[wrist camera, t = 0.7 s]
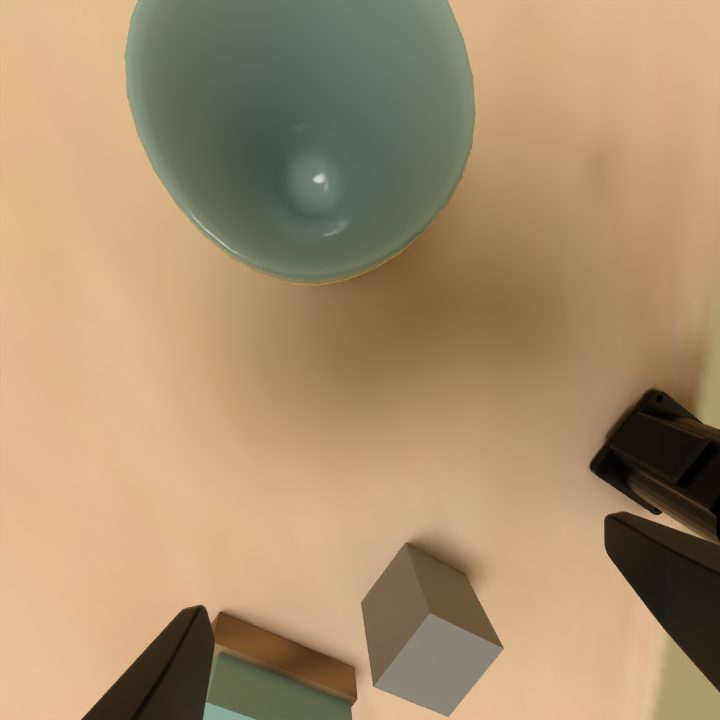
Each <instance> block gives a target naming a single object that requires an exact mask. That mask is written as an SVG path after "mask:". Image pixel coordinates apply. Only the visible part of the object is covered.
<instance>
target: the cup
mask: <svg viewBox="0 0 720 720" xmlns="http://www.w3.org/2000/svg"><path fill="white" fill-rule="evenodd" d="M124 57H125V72H126V87H127V98H128V101H129V105H130V109H131V112H132V116H133V120H134V123H135V127H136V131H137V134H138V137H139V139H140V141H141V143H142V145H143V148H144V150H145V152H146V154H147V156H148V158H149V161H150V163H151V165H152V167H153V169H154V171H155V173H156V175H157V176H158V178H159V179H160V181H161V182H162V184H163V185H164V187H165V188H166V190H167V191H168V193H169V194H170V196H171V197H172V199H173V200H174V202H175V203H176V205H177V206H178V208H179V209H180V210H181V211H182V212H183V213H184V214H185V216H186V217H187V218H188V219H189V220H190V221H191V222H192V223H193V224H194V226H195V227H196V228H197V229H198V230H199V231H200V232H201V233H202V234H203V235H204V236H205V237H206V238H207V239H209V240H210V241H211V242H212V243H213V244H215V245H216V246H217V247H218V248H220V249H221V250H222V251H223V252H225V253H226V254H227V255H228V256H229V257H231V258H232V259H233V260H235V261H237V262H239V263H241V264H242V265H244V266H246V267H248V268H250V269H251V270H253V271H255V272H257V273H259V274H260V275H263V276H266V277H269V278H272V279H276V280H279V281H282V282H285V283H289V284H296V285H313V286H319V285H325V284H331V283H337V282H343V281H346V280H349V279H351V278H354V277H357V276H359V275H362V274H365V273H367V272H370V271H372V270H374V269H376V268H377V267H379V266H381V265H382V264H384V263H386V262H387V261H389V260H391V259H392V258H394V257H396V256H397V255H399V254H400V253H401V252H402V251H403V250H405V249H406V248H407V247H408V246H409V245H410V244H412V243H413V242H414V241H415V240H416V239H418V238H419V237H420V236H421V235H422V234H423V233H424V232H425V231H426V230H427V229H428V228H429V226H430V225H431V224H432V223H433V222H434V220H435V219H436V218H437V217H438V216H439V214H440V213H441V212H442V211H443V210H444V208H445V206H446V205H447V203H448V201H449V199H450V198H451V196H452V194H453V192H454V191H455V189H456V187H457V185H458V183H459V182H460V180H461V178H462V175H463V172H464V169H465V166H466V163H467V160H468V157H469V154H470V151H471V148H472V141H473V132H474V123H475V114H476V112H475V99H474V86H473V76H472V72H471V68H470V64H469V59H468V55H467V51H466V47H465V43H464V39H463V37H462V34H461V32H460V30H459V27H458V25H457V22H456V20H455V17H454V15H453V12H452V10H451V7H450V5H449V2H448V1H447V0H138V2H137V4H136V7H135V9H134V12H133V14H132V16H131V20H130V26H129V32H128V38H127V44H126V50H125V56H124Z"/></svg>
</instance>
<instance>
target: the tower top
mask: <svg viewBox="0 0 720 720" xmlns="http://www.w3.org/2000/svg"><path fill="white" fill-rule="evenodd" d="M203 720H352V713H351V703H350V702H348V701H345V700H343V699H340V698H337V697H335V696H332V695H330V694H327V693H324V692H322V691H319V690H317V689H314V688H311V687H309V686H306V685H304V684H301V683H298V682H296V681H293V680H291V679H288V678H285V677H283V676H280V675H278V674H275V673H272V672H270V671H267V670H265V669H262V668H259V667H257V666H254V665H252V664H249V663H246V662H244V661H241V660H239V659H236V658H233V657H231V656H228V655H226V654H223V653H220V652H219V654H218V655H217V657H216V658H215V659H214V661H213V662H212V667H211V673H210V679H209V686H208V692H207V698H206V704H205V710H204V716H203Z"/></svg>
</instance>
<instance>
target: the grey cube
mask: <svg viewBox="0 0 720 720" xmlns="http://www.w3.org/2000/svg"><path fill="white" fill-rule="evenodd" d="M361 606H362V612H363V619H364V626H365V633H366V640H367V647H368V653H369V660H370V667H371V674H372V681H373V687H375V688H378V689H380V690H383V691H385V692H388V693H390V694H393V695H395V696H398V697H400V698H403V699H405V700H408V701H410V702H413V703H415V704H418V705H420V706H422V707H425V708H427V709H430V710H432V711H435V712H437V713H440V714H442V715H445V716H447V717H449V716H450V714H451V713H452V712H453V711H454V710H455V708H456V707H457V706H458V705H459V703H460V702H461V701H462V700H463V698H464V697H465V696H466V695H467V693H468V692H469V691H470V690H471V689H472V687H473V686H474V685H475V684H476V682H477V681H478V680H479V679H480V677H481V676H482V675H483V674H484V672H485V671H486V670H487V669H488V668H489V666H490V665H491V664H492V663H493V661H494V660H495V659H496V658H497V656H498V655H499V654H500V653H501V651H502V650H503V649H504V648H503V646H502V644H501V642H500V640H499V638H498V636H497V635H496V633H495V631H494V629H493V627H492V625H491V623H490V621H489V619H488V617H487V615H486V613H485V612H484V610H483V608H482V606H481V604H480V602H479V600H478V598H477V596H476V594H475V592H474V590H473V589H472V587H471V585H470V583H469V581H468V579H467V577H466V575H465V574H463V573H461V572H459V571H458V570H456V569H454V568H452V567H450V566H448V565H446V564H444V563H442V562H440V561H439V560H437V559H435V558H433V557H431V556H429V555H427V554H425V553H423V552H421V551H420V550H418V549H416V548H414V547H412V546H410V545H408V544H406V543H405V544H404V545H403V547H402V548H401V549H400V551H399V552H398V554H397V555H396V556H395V558H394V559H393V560H392V562H391V563H390V564H389V566H388V567H387V568H386V570H385V571H384V572H383V574H382V575H381V576H380V578H379V579H378V580H377V582H376V583H375V585H374V586H373V587H372V589H371V590H370V591H369V593H368V594H367V595H366V597H365V598H364V599H363V601H362V602H361Z"/></svg>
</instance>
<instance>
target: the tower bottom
mask: <svg viewBox="0 0 720 720" xmlns="http://www.w3.org/2000/svg"><path fill="white" fill-rule="evenodd" d="M211 626H212V629H213V632H214V637H215V648H214V655H213V661H214V659H215V658H216V657H217V655H218V654H219V652H220V653H223V654H226V655H228V656H231V657H233V658H236V659H239V660H241V661H244V662H246V663H249V664H252V665H254V666H257V667H259V668H262V669H265V670H267V671H270V672H272V673H275V674H278V675H280V676H283V677H285V678H288V679H291V680H293V681H296V682H298V683H301V684H304V685H306V686H309V687H311V688H314V689H317V690H319V691H322V692H324V693H327V694H330V695H332V696H335V697H337V698H340V699H343V700H345V701H348V702H350V703H351V707H352V705H353V704H354V703H355V702H356V700H357V689H356V680H355V670H354V667H352V666H349V665H347V664H344V663H342V662H340V661H337V660H335V659H332V658H330V657H328V656H325V655H323V654H320V653H318V652H316V651H313V650H311V649H308V648H306V647H303V646H301V645H299V644H296V643H294V642H291V641H289V640H287V639H284V638H282V637H279V636H277V635H275V634H272V633H270V632H267V631H265V630H263V629H260V628H258V627H255V626H253V625H251V624H248V623H246V622H243V621H241V620H239V619H236V618H234V617H231V616H229V615H227V614H224V613H222V612H219V614H218V615H217V617H216V618H215V620H214V621H213V623H212V624H211ZM213 661H212V662H213Z"/></svg>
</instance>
